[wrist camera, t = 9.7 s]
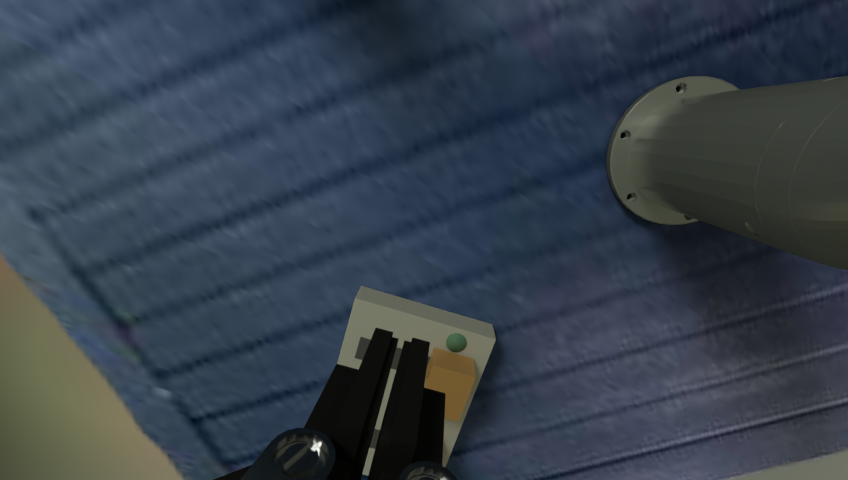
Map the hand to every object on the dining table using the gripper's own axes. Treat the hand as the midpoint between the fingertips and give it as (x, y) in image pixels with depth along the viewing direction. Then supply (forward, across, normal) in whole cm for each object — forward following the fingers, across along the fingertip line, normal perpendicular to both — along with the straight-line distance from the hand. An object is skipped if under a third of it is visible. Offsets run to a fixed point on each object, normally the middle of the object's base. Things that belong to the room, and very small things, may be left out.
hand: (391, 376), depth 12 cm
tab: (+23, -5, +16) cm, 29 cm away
